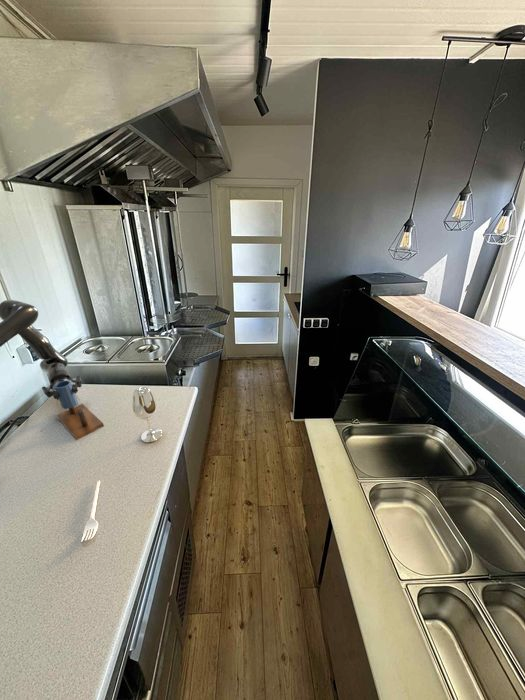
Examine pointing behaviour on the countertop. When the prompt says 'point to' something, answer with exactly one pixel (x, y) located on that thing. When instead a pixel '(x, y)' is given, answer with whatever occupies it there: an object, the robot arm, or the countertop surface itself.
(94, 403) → the countertop surface
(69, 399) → the tube peg
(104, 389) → the countertop surface
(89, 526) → the fork
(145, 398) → the wineglass
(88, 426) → the peg rack
